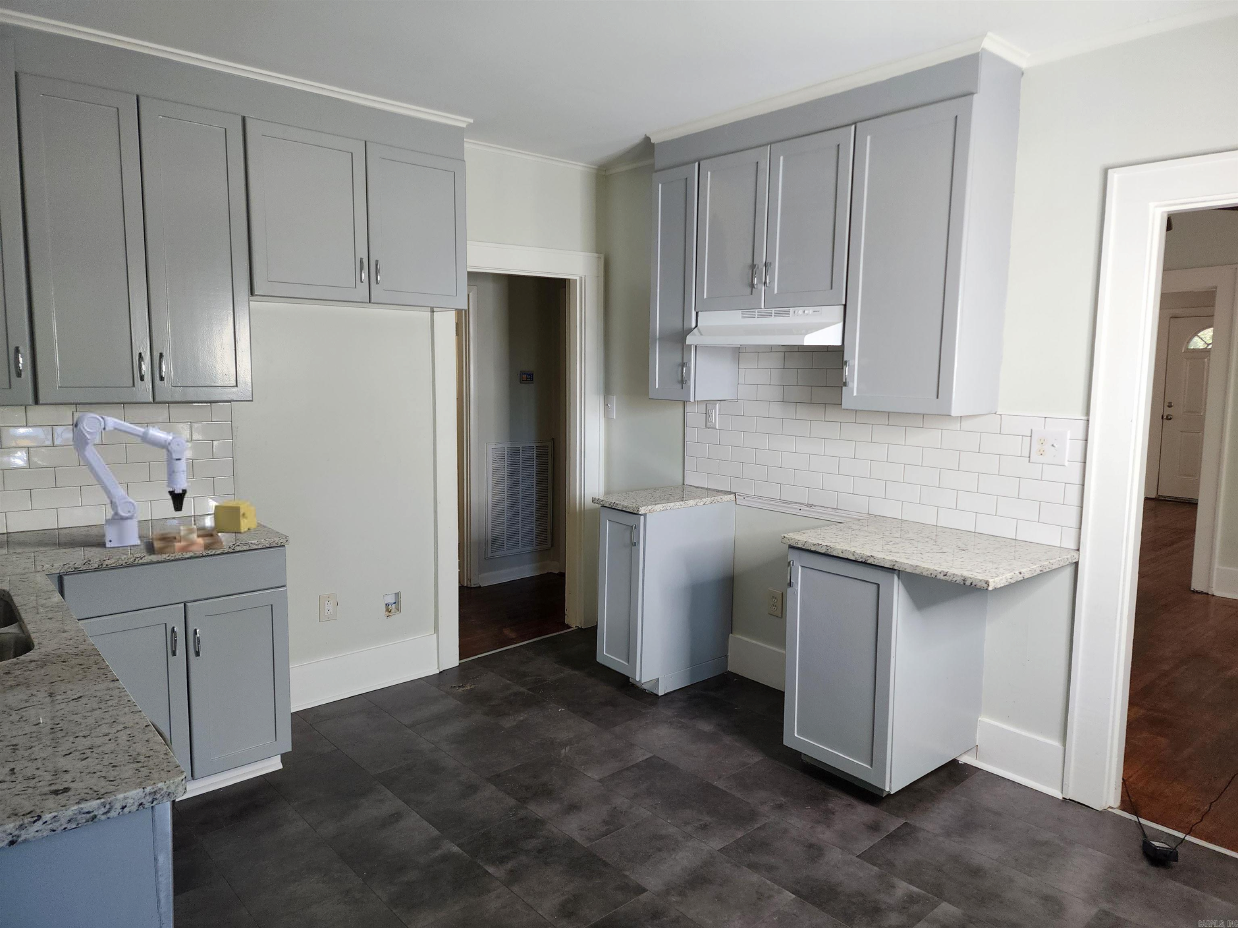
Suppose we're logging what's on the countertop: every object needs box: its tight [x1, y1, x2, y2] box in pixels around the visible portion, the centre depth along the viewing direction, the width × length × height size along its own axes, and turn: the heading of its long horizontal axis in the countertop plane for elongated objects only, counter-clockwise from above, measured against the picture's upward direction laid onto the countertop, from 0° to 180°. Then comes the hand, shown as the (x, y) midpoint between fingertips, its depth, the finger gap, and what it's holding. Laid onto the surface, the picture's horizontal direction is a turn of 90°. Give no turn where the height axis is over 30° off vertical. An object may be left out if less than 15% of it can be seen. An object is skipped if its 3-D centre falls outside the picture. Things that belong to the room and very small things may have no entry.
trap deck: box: [151, 528, 224, 556], centre depth 267 cm, size 19×22×2 cm
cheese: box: [213, 499, 258, 533], centre depth 293 cm, size 10×11×10 cm
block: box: [179, 525, 198, 543], centre depth 262 cm, size 4×4×4 cm
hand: (178, 511), depth 276 cm, fingers closed
